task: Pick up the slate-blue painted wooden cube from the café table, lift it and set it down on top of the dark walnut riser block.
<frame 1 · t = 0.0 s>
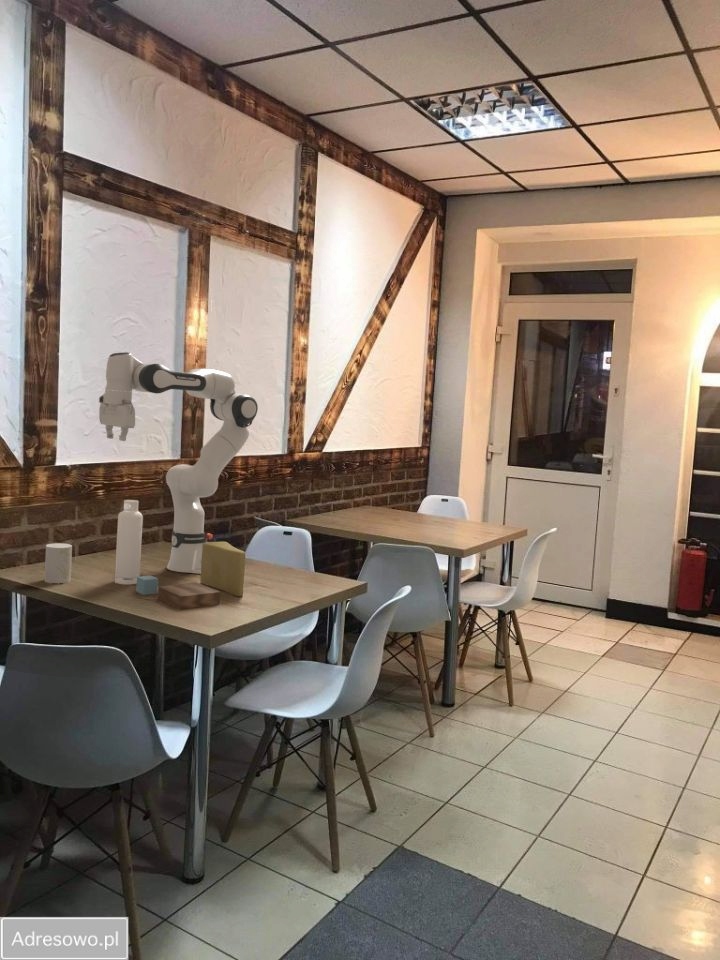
hand: (116, 439, 274), 48 cm above the table, fingers open, 8 cm apart
cup: (57, 581, 265), on the table
cube: (146, 592, 260), on the table
bottle: (127, 582, 272), on the table
cheese: (225, 590, 272), on the table
riser: (188, 601, 252), on the table
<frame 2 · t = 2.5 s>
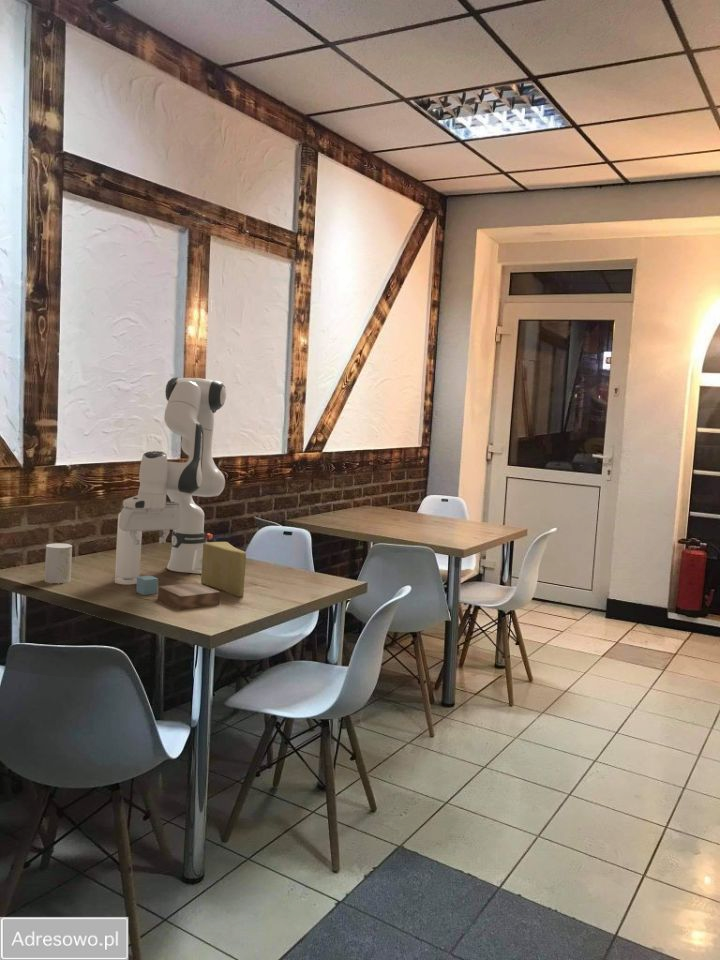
hand: (149, 543, 258), 16 cm above the table, fingers open, 8 cm apart
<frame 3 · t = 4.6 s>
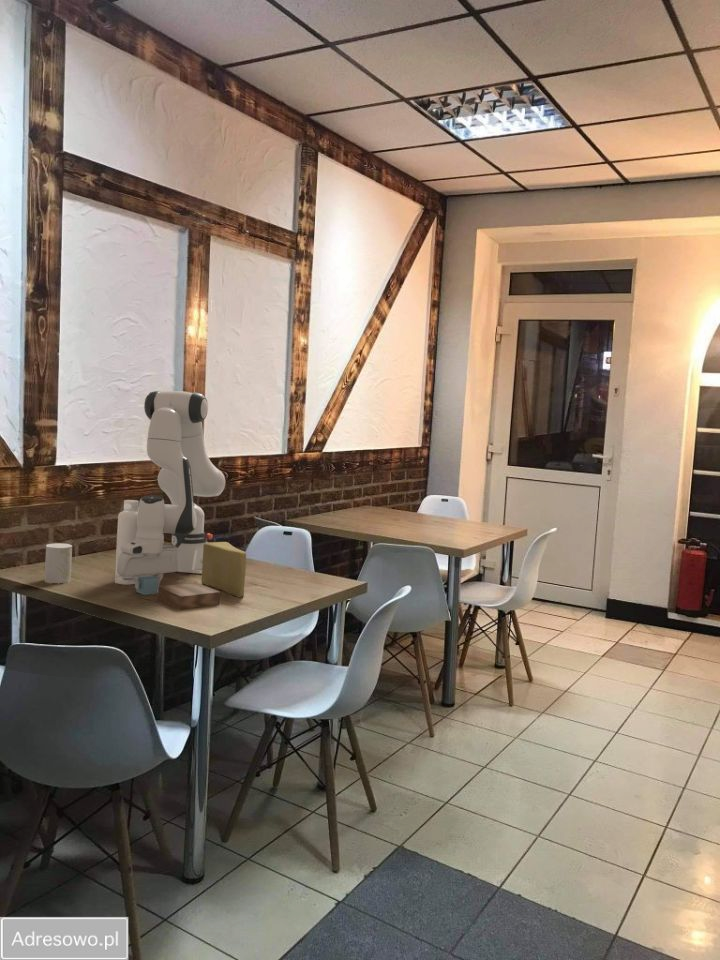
hand: (147, 587, 259), 2 cm above the table, fingers closed on cube, 5 cm apart
cube: (146, 592, 259), on the table, touching gripper
everything else where it was.
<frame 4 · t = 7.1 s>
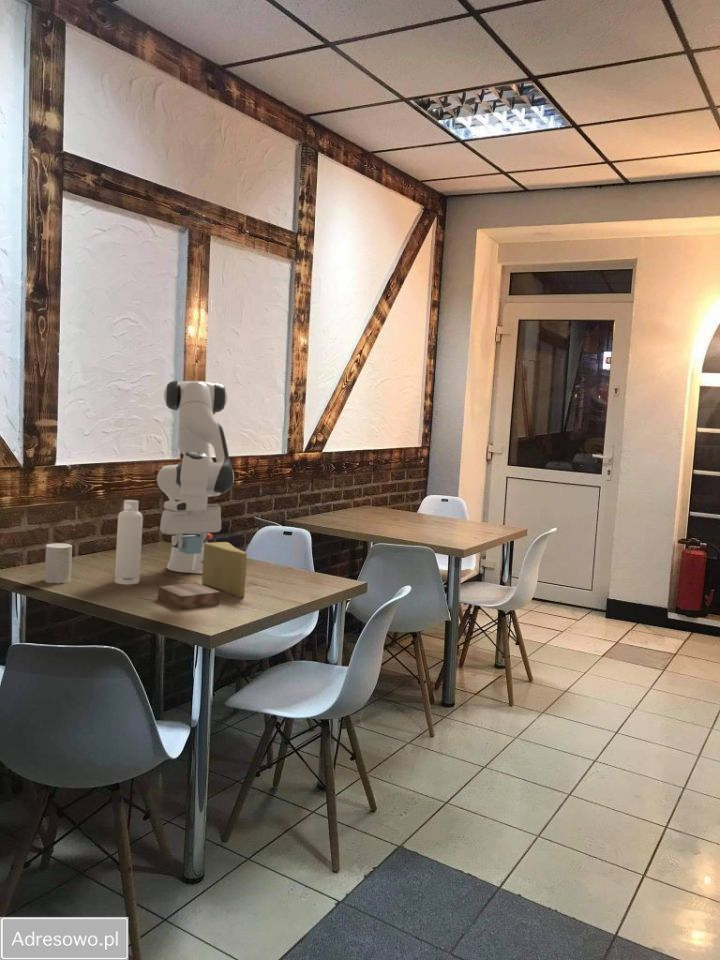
hand: (190, 547, 250), 18 cm above the table, fingers closed on cube, 5 cm apart
cube: (190, 552, 250), point 16 cm above the table, touching gripper
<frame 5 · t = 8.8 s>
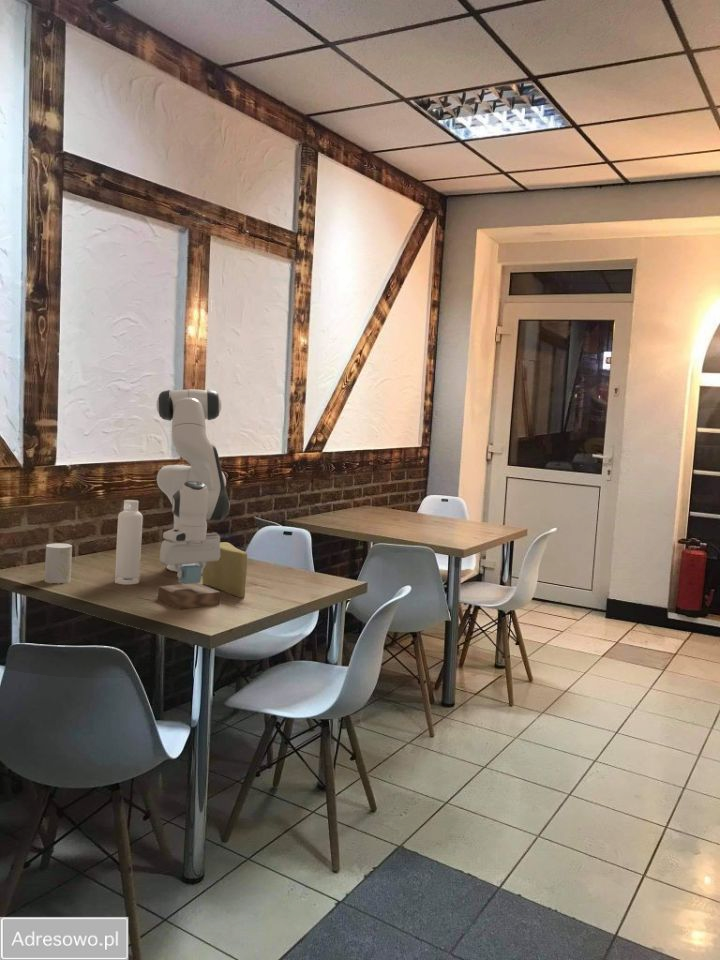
hand: (189, 576, 251), 8 cm above the table, fingers closed on cube, 5 cm apart
cube: (189, 581, 251), point 7 cm above the table, touching gripper
when the fingers open (7 cm above the table, at t = 9.9 s): cube drops 1 cm, resting on riser.
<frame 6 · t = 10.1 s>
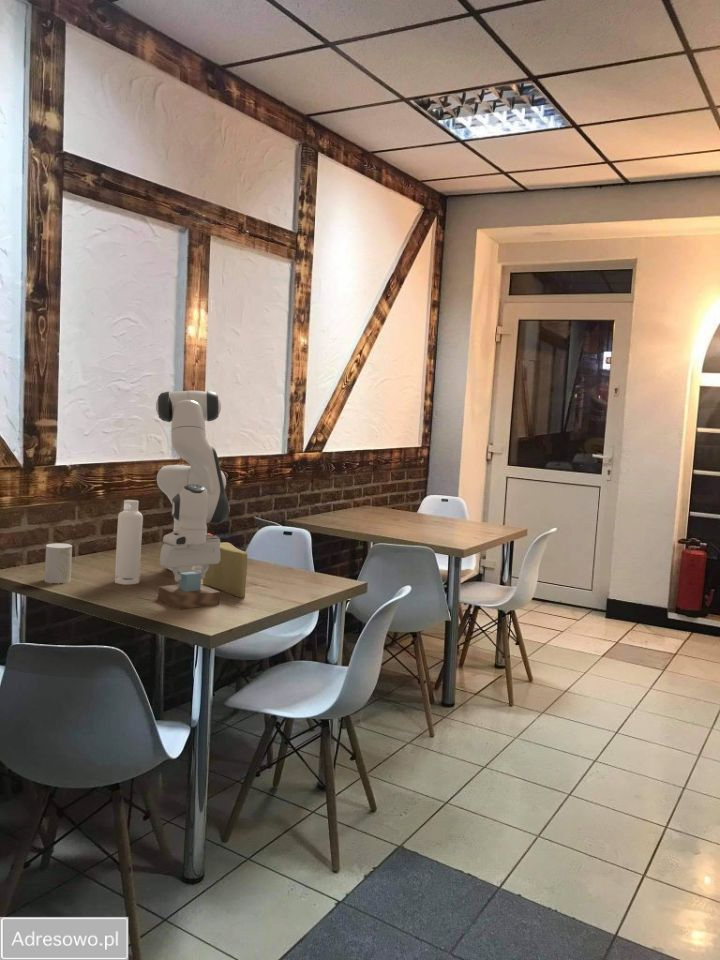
hand: (189, 579, 251), 7 cm above the table, fingers open, 7 cm apart
cube: (189, 589, 252), point 4 cm above the table, touching riser
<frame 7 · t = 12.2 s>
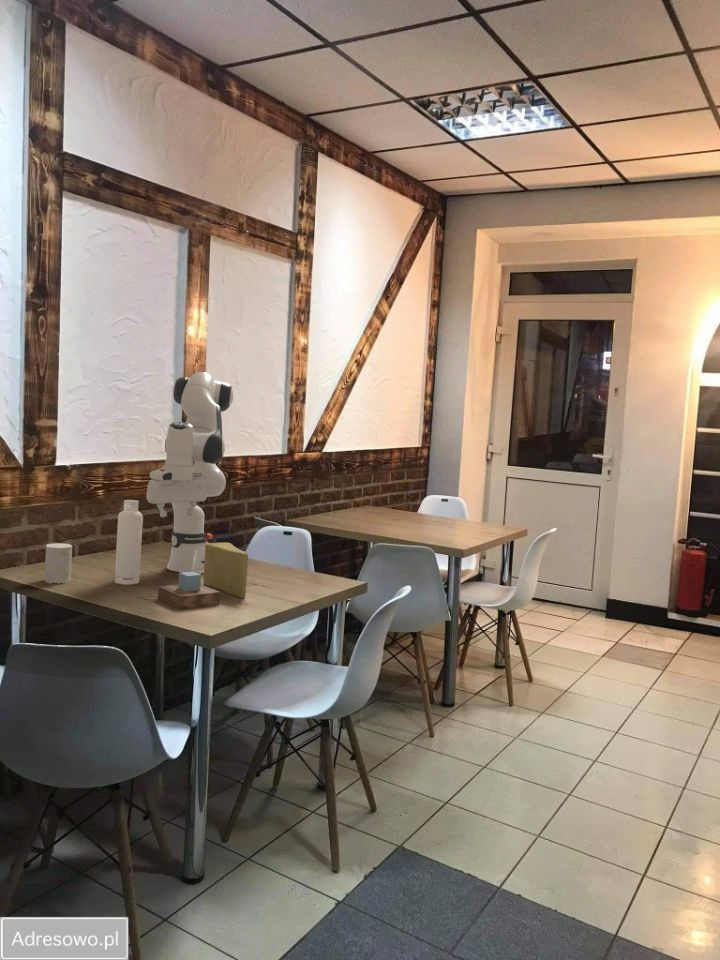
hand: (176, 516, 255), 26 cm above the table, fingers open, 8 cm apart
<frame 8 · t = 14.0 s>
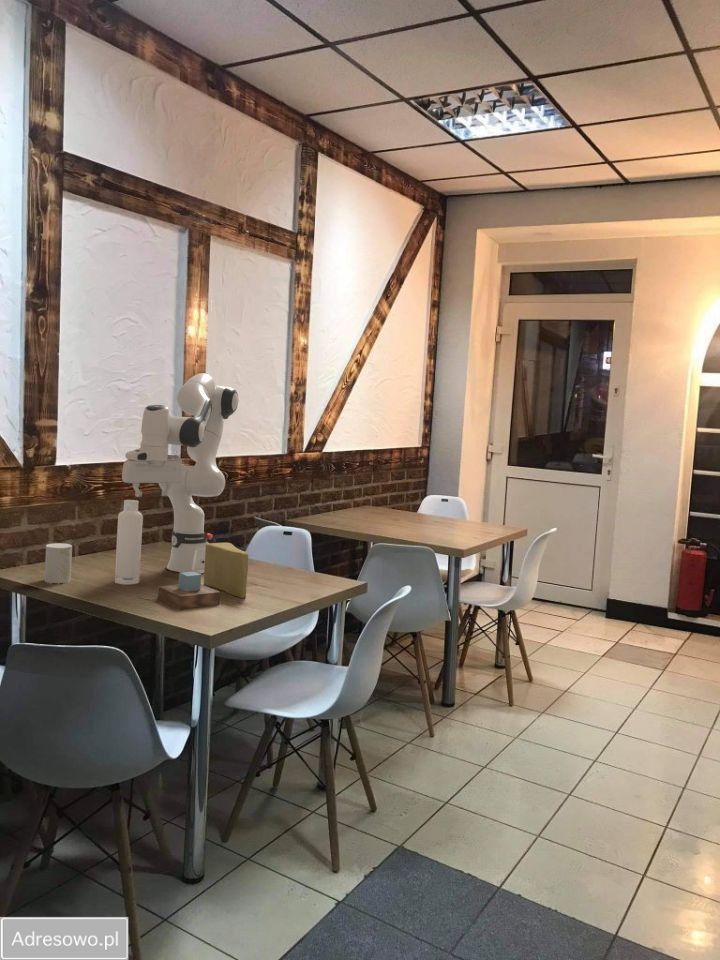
hand: (151, 496, 261), 31 cm above the table, fingers open, 8 cm apart
at the end: cube inside the target area on the riser (0.0 cm from its centre), point 4.0 cm above the riser's base; cube tilted 0°; the gripper is holding nothing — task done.
